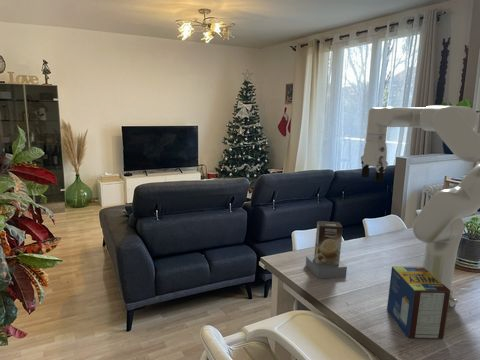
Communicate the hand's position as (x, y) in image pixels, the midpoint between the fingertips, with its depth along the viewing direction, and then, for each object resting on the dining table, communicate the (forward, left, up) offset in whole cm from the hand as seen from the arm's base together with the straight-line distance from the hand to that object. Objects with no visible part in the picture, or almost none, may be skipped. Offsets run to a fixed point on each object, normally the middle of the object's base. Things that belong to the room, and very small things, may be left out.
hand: (371, 179), depth 145 cm
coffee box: (-6, +21, -32) cm, 39 cm away
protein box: (-44, +10, -37) cm, 58 cm away
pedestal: (-6, +21, -36) cm, 42 cm away
